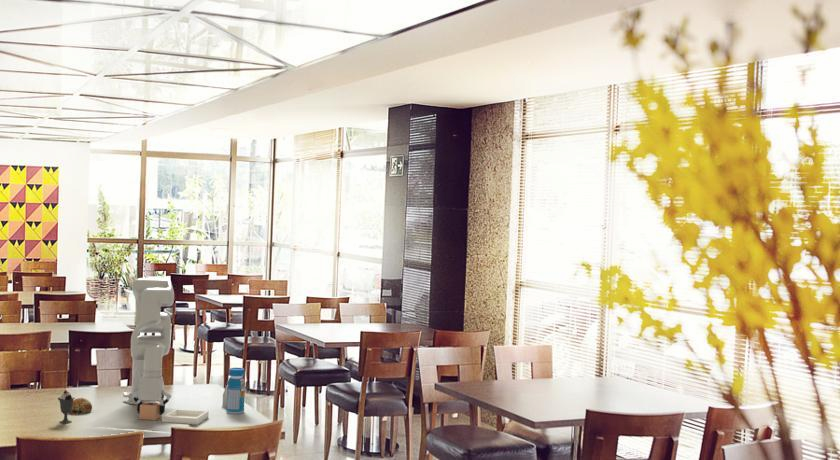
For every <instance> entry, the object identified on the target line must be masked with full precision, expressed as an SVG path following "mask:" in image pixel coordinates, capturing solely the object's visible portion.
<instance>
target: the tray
mask: <svg viewBox="0 0 840 460" xmlns="http://www.w3.org/2000/svg"><path fill="white" fill-rule="evenodd" d="M207 419H209V411H208V410H197V409H196V410H195V409H194V410H193V409H180V408H176V409H174V410H171V411H170V412H168V413H166V414H164V415H162V419H161V421H162V423H178V424H188V426H196V427H197V426H198V425H200V424H201V423H203V422H205V421H206V420H207Z"/></svg>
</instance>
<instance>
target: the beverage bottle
mask: <svg viewBox="0 0 840 460" xmlns="http://www.w3.org/2000/svg"><path fill="white" fill-rule="evenodd" d="M228 375H229V378H228V380H227V382H226V384H227V386H228V387H227V402H226V408H225V412H226V413H227V414H232V415H233V414H237V415H238V414H242V413H244V412H245V400H246V397H245V396H246V381H245V378H244V376H245V368H244V367H243V368H242V367H231V368H229V373H228Z"/></svg>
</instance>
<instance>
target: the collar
mask: <svg viewBox="0 0 840 460" xmlns="http://www.w3.org/2000/svg"><path fill="white" fill-rule="evenodd" d="M148 403H149V402H145V403H143V404H141V405H140V413H139V416H138V417H139V419H147V420H146V421H148V420H156V419H158V418H160V417H161V416H163V414H162V415H160V414H159V411H160V405H161V404H160V403H159V401H155V402H154V405H148Z"/></svg>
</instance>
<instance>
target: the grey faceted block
mask: <svg viewBox="0 0 840 460" xmlns="http://www.w3.org/2000/svg"><path fill="white" fill-rule="evenodd" d="M227 387H228V385H225V388H224V390H223V394H222V405H221V407H222V408H225V409H226V402H227Z"/></svg>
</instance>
